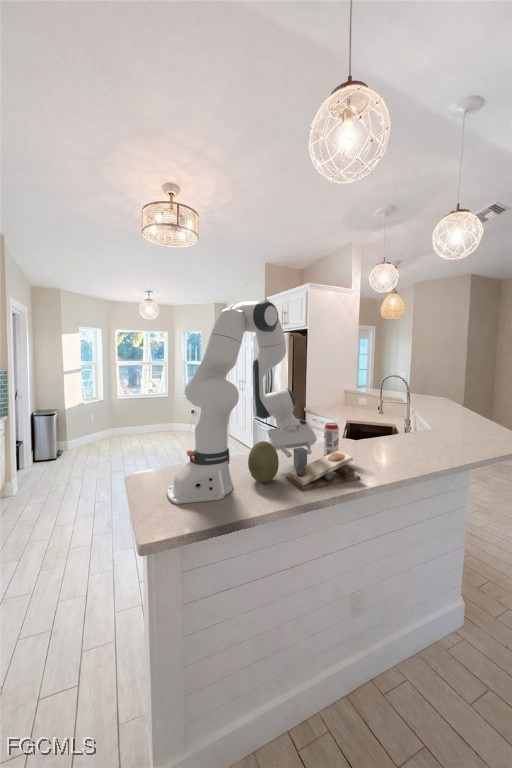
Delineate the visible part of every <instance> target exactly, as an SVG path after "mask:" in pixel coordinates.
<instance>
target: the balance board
mask: <svg viewBox="0 0 512 768" xmlns="http://www.w3.org/2000/svg"><path fill="white" fill-rule="evenodd" d="M351 462H354V458H353V456H351V455H349V454H347V453H344V452H342V451H340V450H339V451H338V450H337V451H335V452H333V453H331V454H329V455H327V456H325V457H324V456H323V457H321V458H318V459H316V460H315V461H313V462H310V463H307V465H306V466H299V467H297V468H296V469H295V470H294V471H292V472H290V473H289V475H291V477H292V478H294V479H295V480H297V481H298V482H299V483H301V484H302V485H306V484H308V483H310V482H312V481H314V480H316V479H318V478H320V477H322V476H324V475H326V474H328V473H329V472H331V471H333V470H335V469H337V468H339V467H341V466H343V465H345V464H346V465H348V464H349V463H351Z"/></svg>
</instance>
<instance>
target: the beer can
mask: <svg viewBox="0 0 512 768" xmlns="http://www.w3.org/2000/svg"><path fill="white" fill-rule="evenodd" d="M339 435H340V428H339V425H338V423H336V422H326V423H325V424H324V428H323V457H325V456H327V455H329V454H331V453H333V452H335V451H337V450H338V451H340V450H339V447H340V446H339V444H340V443H339V439H340V438H339Z"/></svg>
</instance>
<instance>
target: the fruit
mask: <svg viewBox="0 0 512 768" xmlns="http://www.w3.org/2000/svg"><path fill="white" fill-rule="evenodd" d="M250 449H251V450H250V451H249V454H248V458H247V459H248V462H247V466H248V470H249V472H250V475H251V477H252V479H253V480H255V482H258V483H260V484H261V483H262V484H265V483H269V482H271V481H273V479H274V478H275V477H276V475H277V474H278V471H279V467H280V466H279V464H280V461H279V456H278V452H277V450H275V448H274V446H273V445H272V444H271V442H269V441H265V440H264V441H263V440H262V441H257V442H256V443H255V444H254V445H253V446H252V448H250Z"/></svg>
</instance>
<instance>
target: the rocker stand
mask: <svg viewBox="0 0 512 768" xmlns="http://www.w3.org/2000/svg"><path fill="white" fill-rule="evenodd" d="M285 479H286V480H287V481H288V482H289V483H290V484H292V485H293V486H294V487H296V488H298V489H299V490H300V491H302V492H303V491H309V490H314V489H317V488H322V487H327V486H333V485H338V484H342V483H347V482H352V480H353V481H357V480H361V476H360V475H358V474H357V473H355V468H354V467H352V466H349V465H348V464H345V465H343V466H341V467H339V468H337V469H335V470H333V471H331V472H329V473H328V474H326V475H324V476H322V477H320V478H318V479H316V480H314V481H312V482H310V483H308V484H306V485H302V484H301V483H299V482H298V481H297V480H295V479H294V478H292V477H291V474H289V475H285Z"/></svg>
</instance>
